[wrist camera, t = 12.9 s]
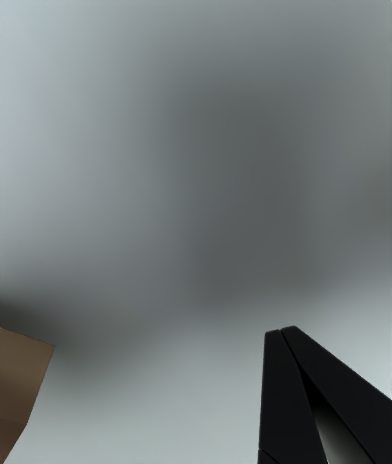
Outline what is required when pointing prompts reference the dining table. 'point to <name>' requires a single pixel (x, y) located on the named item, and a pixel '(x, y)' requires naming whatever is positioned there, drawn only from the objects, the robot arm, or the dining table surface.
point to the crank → (19, 383)
